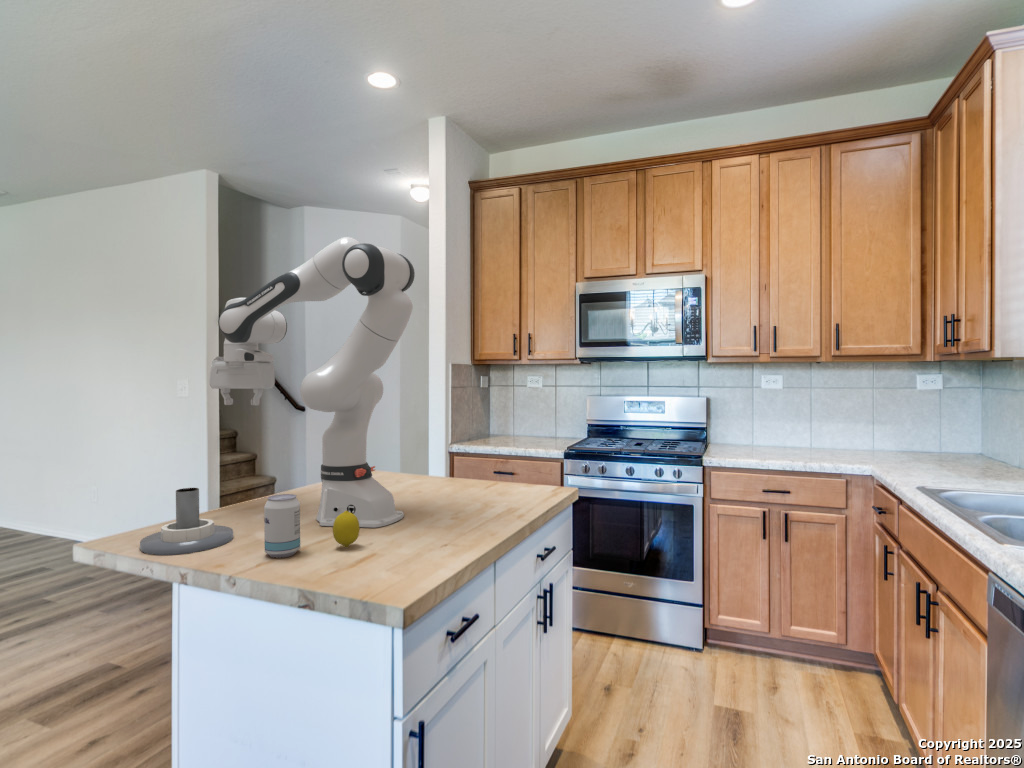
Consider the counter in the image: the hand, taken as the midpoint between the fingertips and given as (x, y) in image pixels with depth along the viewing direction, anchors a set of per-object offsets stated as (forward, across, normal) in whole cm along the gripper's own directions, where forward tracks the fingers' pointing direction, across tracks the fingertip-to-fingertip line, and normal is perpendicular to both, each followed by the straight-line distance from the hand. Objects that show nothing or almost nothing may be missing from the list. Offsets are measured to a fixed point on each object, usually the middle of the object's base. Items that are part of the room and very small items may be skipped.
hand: (241, 405), depth 158 cm
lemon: (+29, +50, -22) cm, 62 cm away
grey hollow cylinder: (+28, +14, -30) cm, 43 cm away
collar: (+29, +14, -30) cm, 44 cm away
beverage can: (+29, +40, -30) cm, 58 cm away
